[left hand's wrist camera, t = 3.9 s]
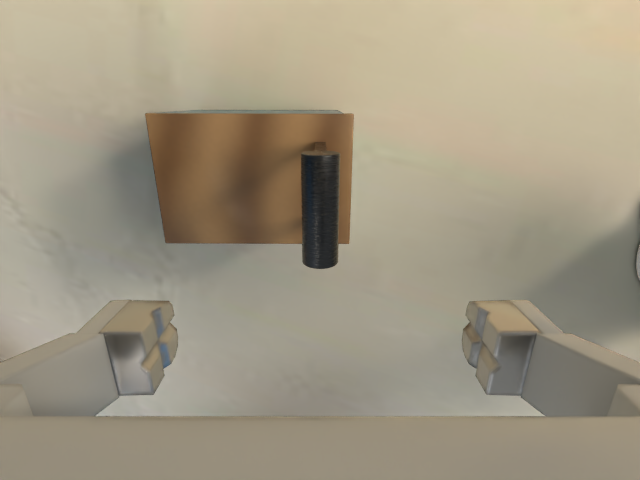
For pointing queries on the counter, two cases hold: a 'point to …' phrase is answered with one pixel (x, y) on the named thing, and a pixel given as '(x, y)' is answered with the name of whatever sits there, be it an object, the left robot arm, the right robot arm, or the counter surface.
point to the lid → (255, 179)
